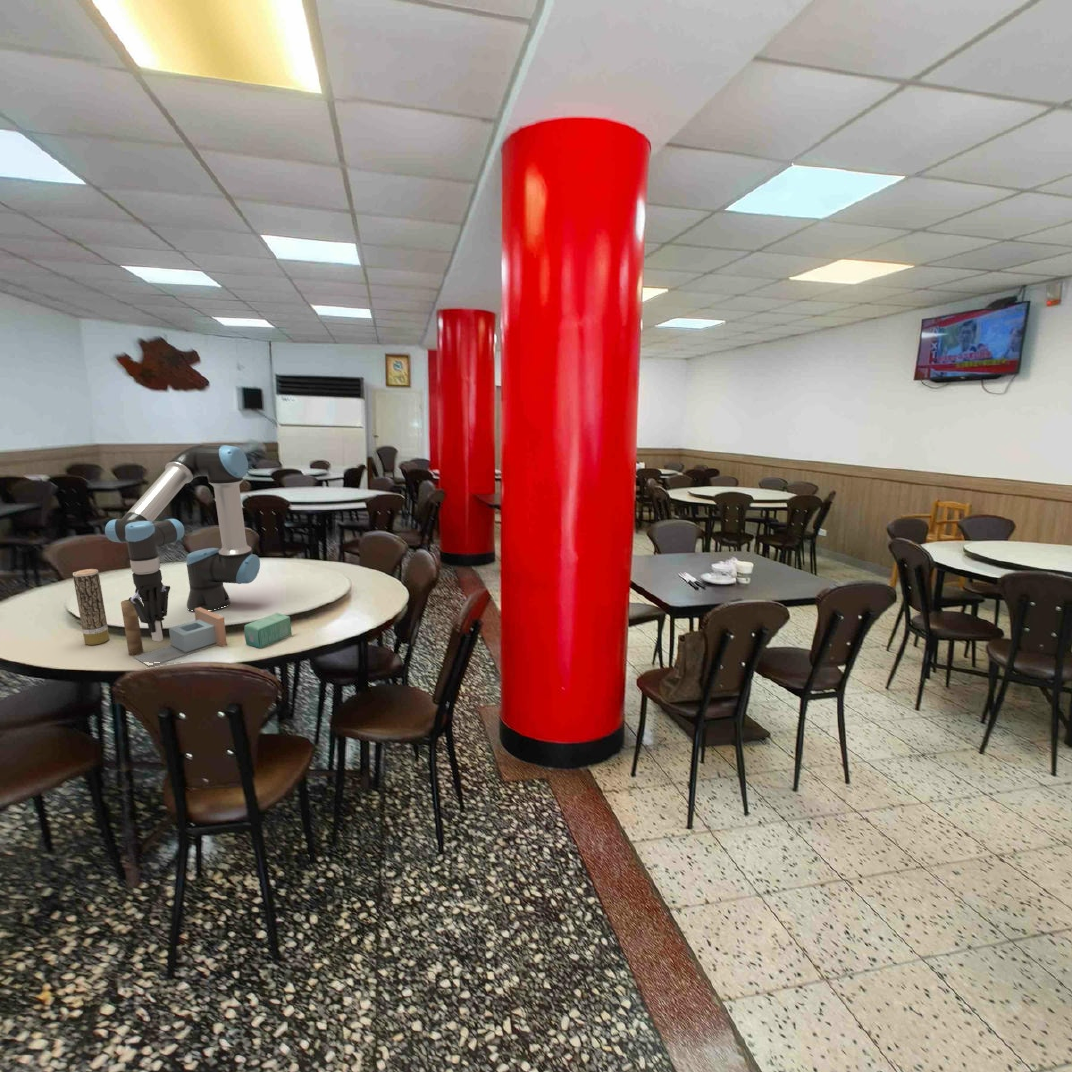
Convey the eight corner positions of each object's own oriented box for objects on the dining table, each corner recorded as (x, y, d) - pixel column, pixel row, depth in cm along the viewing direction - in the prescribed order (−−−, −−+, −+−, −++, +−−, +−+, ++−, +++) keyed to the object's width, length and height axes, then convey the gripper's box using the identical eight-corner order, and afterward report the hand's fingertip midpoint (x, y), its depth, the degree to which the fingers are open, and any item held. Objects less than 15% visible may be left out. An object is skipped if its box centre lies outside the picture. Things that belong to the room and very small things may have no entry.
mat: (206, 635, 206) (206, 634, 206) (223, 642, 200) (223, 641, 200) (134, 657, 187) (133, 656, 187) (149, 667, 181) (149, 666, 181)
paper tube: (114, 637, 202) (103, 569, 196) (100, 645, 195) (88, 575, 190) (94, 637, 202) (82, 568, 196) (79, 645, 195) (67, 575, 189)
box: (244, 645, 199) (242, 624, 197) (277, 631, 211) (276, 612, 209) (259, 649, 196) (257, 628, 194) (292, 635, 207) (290, 616, 206)
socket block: (201, 635, 204) (199, 619, 202) (216, 642, 198) (214, 626, 197) (171, 644, 196) (168, 628, 194) (185, 652, 190) (183, 635, 189)
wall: (203, 633, 207) (200, 607, 205) (226, 644, 198) (223, 617, 196) (197, 635, 206) (194, 608, 203) (221, 646, 197) (217, 619, 194)
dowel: (140, 649, 194) (132, 598, 189) (145, 652, 191) (137, 601, 187) (126, 653, 190) (118, 601, 186) (132, 656, 188) (123, 604, 184)
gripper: (155, 563, 188) (166, 630, 195) (117, 575, 176) (130, 646, 182) (173, 566, 186) (184, 633, 193) (136, 578, 174) (148, 650, 180)
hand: (157, 639), depth 188 cm, fingers closed
